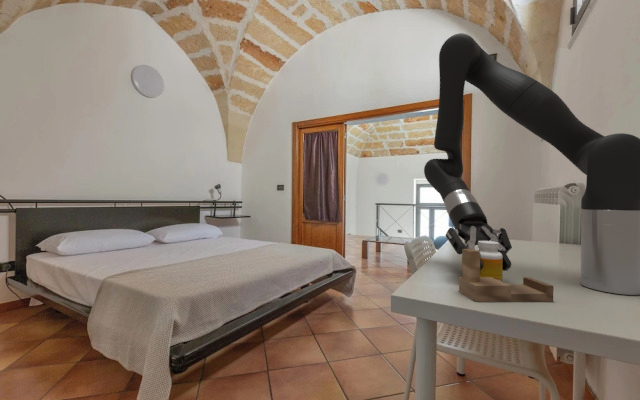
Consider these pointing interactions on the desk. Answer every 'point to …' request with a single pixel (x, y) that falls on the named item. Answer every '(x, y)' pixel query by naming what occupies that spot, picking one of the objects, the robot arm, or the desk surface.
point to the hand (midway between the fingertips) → (493, 268)
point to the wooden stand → (498, 284)
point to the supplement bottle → (491, 260)
